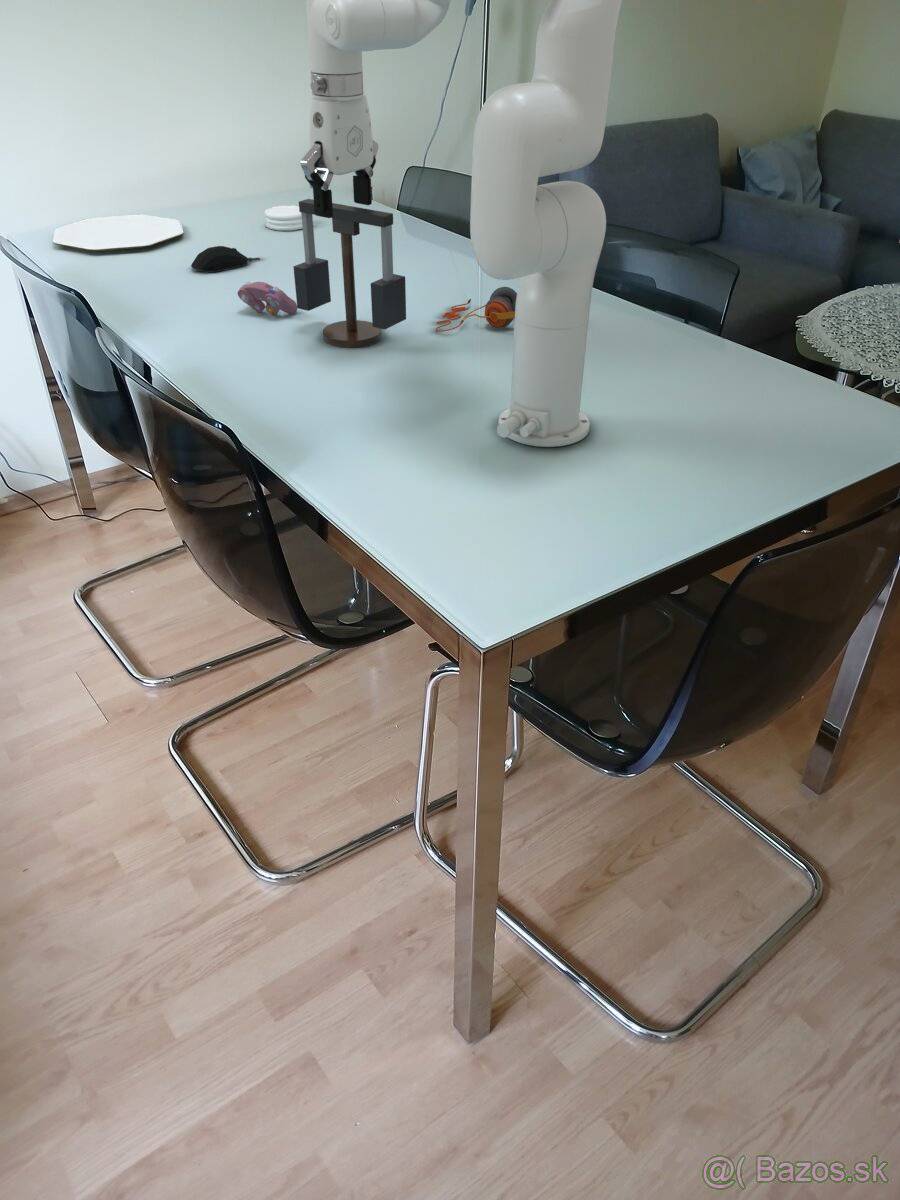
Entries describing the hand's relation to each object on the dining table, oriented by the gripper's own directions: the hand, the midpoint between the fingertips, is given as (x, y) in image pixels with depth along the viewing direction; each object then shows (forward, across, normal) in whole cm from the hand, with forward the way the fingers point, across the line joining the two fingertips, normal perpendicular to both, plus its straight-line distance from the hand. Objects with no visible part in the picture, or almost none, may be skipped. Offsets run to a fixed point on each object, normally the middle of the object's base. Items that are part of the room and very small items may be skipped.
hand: (343, 210), depth 143 cm
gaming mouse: (+21, +18, +46) cm, 54 cm away
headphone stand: (+20, 0, -1) cm, 20 cm away
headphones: (+20, +20, -17) cm, 33 cm away
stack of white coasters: (+21, +49, +57) cm, 78 cm away
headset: (+16, 0, 0) cm, 16 cm away
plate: (+22, +20, +81) cm, 87 cm away
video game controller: (+21, +1, +19) cm, 28 cm away
